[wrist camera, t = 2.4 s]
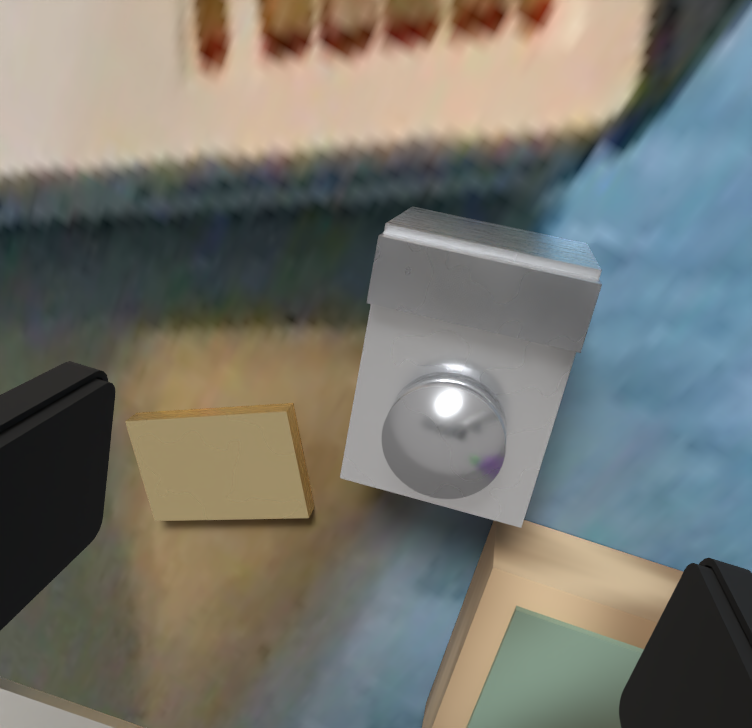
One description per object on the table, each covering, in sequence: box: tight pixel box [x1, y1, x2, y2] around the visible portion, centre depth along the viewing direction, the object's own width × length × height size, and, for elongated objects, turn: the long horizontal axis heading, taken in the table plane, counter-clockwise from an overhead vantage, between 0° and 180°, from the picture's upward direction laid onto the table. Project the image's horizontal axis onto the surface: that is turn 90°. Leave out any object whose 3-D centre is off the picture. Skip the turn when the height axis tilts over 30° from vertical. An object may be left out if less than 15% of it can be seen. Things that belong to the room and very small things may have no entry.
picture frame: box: [422, 520, 683, 728], centre depth 21 cm, size 11×9×3 cm
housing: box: [340, 207, 602, 528], centre depth 17 cm, size 7×5×5 cm
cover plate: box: [125, 403, 315, 521], centre depth 23 cm, size 6×4×1 cm, turn 97°
